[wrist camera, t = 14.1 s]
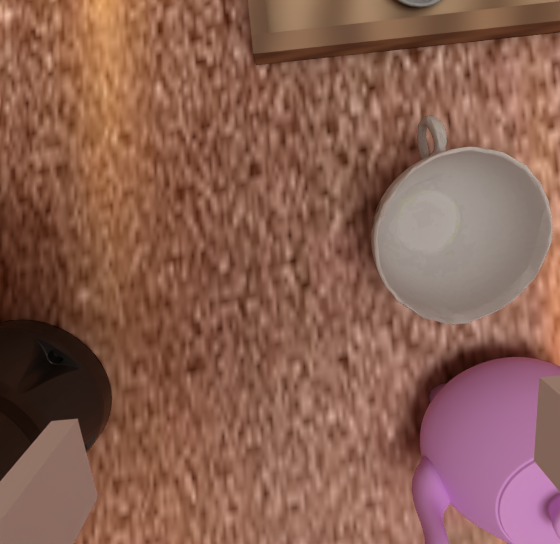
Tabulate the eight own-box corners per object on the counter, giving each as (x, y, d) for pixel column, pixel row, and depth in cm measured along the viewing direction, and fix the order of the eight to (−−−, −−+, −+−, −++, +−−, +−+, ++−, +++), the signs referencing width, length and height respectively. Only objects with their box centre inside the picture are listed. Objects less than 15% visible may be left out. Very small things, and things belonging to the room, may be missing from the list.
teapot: (399, 510, 46) (448, 655, 33) (344, 392, 42) (375, 502, 29) (604, 436, 44) (746, 561, 30) (566, 304, 40) (710, 381, 26)
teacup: (506, 272, 39) (563, 302, 31) (370, 305, 40) (393, 342, 32) (485, 99, 35) (543, 84, 27) (334, 140, 36) (349, 137, 28)
